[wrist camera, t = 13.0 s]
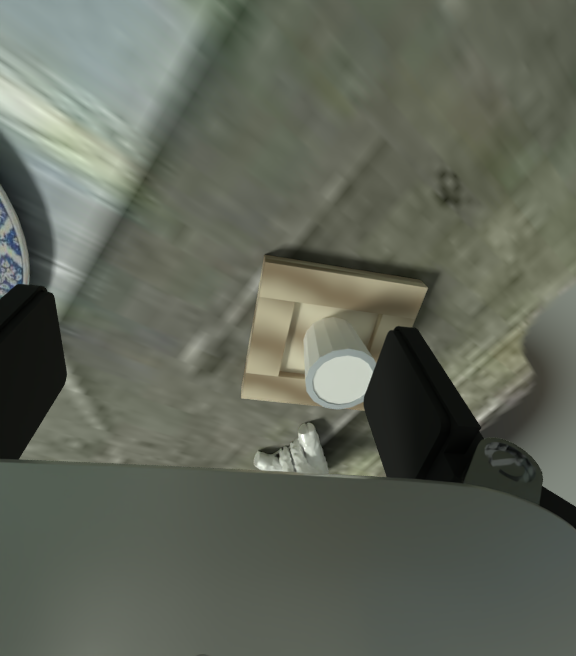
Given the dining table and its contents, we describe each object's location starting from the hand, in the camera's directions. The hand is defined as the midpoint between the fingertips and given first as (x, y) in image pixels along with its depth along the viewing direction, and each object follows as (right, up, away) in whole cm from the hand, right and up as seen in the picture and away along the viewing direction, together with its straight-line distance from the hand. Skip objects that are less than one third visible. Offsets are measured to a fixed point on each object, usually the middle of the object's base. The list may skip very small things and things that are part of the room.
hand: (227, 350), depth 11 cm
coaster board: (+6, 0, +31) cm, 31 cm away
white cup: (+6, -1, +30) cm, 31 cm away
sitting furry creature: (+3, -16, +40) cm, 43 cm away
